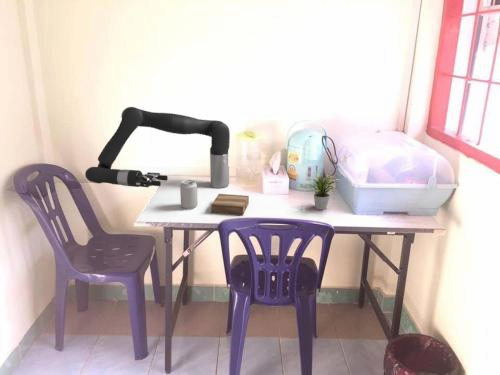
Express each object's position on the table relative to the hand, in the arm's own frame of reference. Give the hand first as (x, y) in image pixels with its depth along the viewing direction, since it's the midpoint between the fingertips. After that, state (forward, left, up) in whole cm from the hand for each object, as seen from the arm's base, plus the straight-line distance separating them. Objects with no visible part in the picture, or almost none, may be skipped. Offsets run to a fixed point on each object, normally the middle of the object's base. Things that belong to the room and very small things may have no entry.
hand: (163, 180), depth 195 cm
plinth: (-12, +28, -11) cm, 32 cm away
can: (-4, +11, -12) cm, 16 cm away
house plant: (-33, +63, -12) cm, 72 cm away
